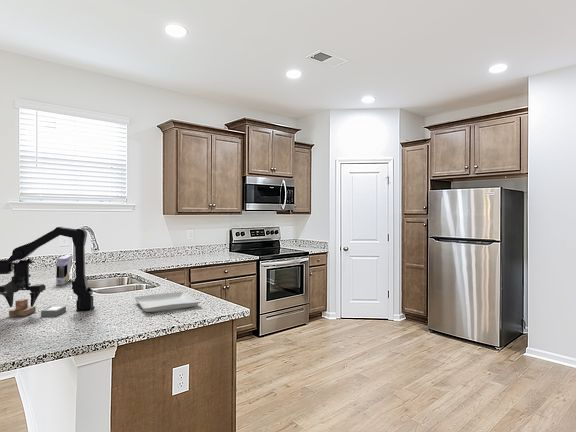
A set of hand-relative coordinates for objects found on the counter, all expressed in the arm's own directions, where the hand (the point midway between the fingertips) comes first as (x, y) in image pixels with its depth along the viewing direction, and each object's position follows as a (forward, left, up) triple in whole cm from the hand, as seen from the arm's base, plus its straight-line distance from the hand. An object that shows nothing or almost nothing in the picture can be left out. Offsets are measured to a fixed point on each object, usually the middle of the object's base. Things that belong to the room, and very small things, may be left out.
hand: (21, 306), depth 172 cm
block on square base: (-1, 0, -3) cm, 3 cm away
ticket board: (-14, 0, -4) cm, 15 cm away
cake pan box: (+20, -78, -4) cm, 80 cm away
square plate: (-62, -13, -4) cm, 64 cm away
